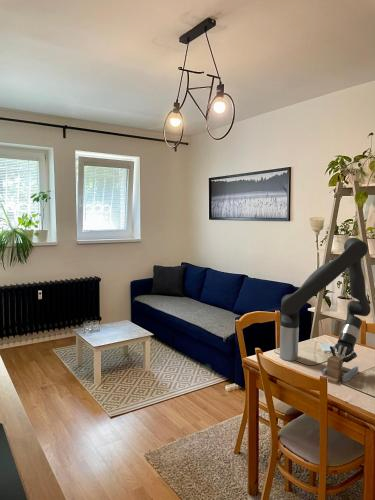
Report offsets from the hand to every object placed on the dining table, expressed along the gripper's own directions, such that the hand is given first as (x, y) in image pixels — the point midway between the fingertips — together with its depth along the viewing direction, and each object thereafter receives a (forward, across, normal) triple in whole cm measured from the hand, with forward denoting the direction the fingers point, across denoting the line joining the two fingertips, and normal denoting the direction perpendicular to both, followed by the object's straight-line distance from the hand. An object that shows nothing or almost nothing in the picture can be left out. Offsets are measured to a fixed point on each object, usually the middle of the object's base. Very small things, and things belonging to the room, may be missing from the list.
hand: (337, 368), depth 170 cm
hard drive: (-19, -18, +26) cm, 36 cm away
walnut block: (+6, 0, 0) cm, 6 cm away
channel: (0, 0, +6) cm, 6 cm away
